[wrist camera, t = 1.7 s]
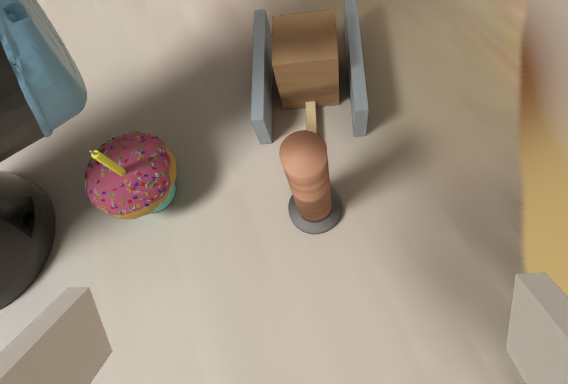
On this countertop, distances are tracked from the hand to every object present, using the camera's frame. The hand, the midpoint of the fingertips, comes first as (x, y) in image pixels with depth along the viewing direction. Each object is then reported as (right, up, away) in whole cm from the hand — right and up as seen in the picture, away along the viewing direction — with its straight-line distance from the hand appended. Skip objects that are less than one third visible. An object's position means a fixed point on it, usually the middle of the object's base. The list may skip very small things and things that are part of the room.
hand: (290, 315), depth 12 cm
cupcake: (-14, +4, +28) cm, 31 cm away
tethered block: (+3, +9, +27) cm, 29 cm away
